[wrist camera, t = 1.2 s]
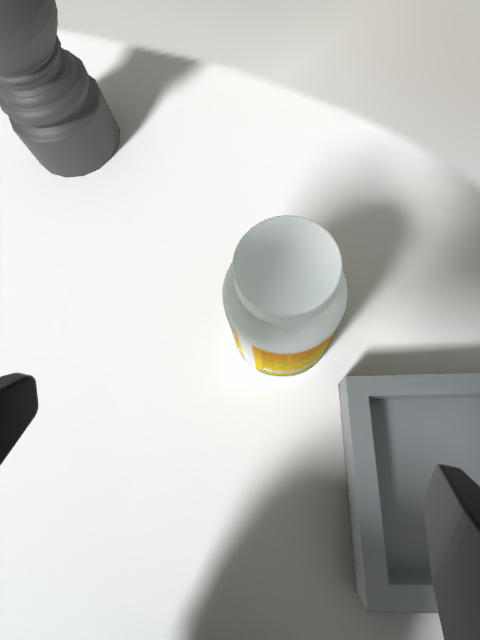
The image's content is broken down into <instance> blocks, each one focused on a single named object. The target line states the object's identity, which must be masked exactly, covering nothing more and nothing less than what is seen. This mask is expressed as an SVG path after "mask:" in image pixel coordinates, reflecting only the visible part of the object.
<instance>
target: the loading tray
mask: <svg viewBox="0 0 480 640" xmlns="http://www.w3.org/2000/svg"><path fill="white" fill-rule="evenodd" d="M338 385H339V396H340V408H341V419H342V430H343V442H344V453H345V465H346V476H347V488H348V499H349V511H350V522H351V534H352V545H353V557H354V568H355V580H356V591H357V594H358V596H359V597H360V599H361V601H362V603H363V604H364V606H365V608H366V610H367V611H368V612H406V613H439V612H438V607H437V603H436V598H435V594H434V588H433V583H432V577H431V569H430V560H429V550H428V541H427V532H426V522H425V513H424V495H425V492H426V489H427V486H428V484H429V481H430V478H431V476H432V473H433V471H434V468H435V467H436V466H437V465H438V464H445V465H450V466H455V467H458V468H460V469H462V470H463V471H464V472H465V473H466V474H467V475H468V476H469V477H470V478H471V479H472V480H473V481H475V482H476V483H477V484H478V485H479V486H480V373H446V374H409V375H371V376H346V377H345V378H344V379H343V380H342V381H341V382H340V383H339V384H338Z"/></svg>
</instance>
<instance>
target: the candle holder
mask: <svg viewBox="0 0 480 640" xmlns="http://www.w3.org/2000/svg"><path fill="white" fill-rule="evenodd" d="M57 21H58V20H57V8H56V3H55V0H0V106H1V109H2V110H3V112H4V113H6V114H7V115H8V116H9V119H10V122H11V125H12V128H13V130H14V132H15V133H16V134H17V135H18V136H19V138H20V139H21V140H22V141H23V143H24V144H25V145H26V146H27V147H28V149H29V150H30V151H31V152H32V154H33V155H34V156H35V157H36V158H37V160H38V161H39V162H40V163H41V165H43V166H44V167H45V168H46V169H47V170H48V171H50V172H51V173H53V174H56V175H60V176H64V177H75V176H84V175H86V174H88V173H90V172H93V171H95V170H97V169H99V168H100V167H102V166H103V165H104V164H105V163H106V162H107V161H108V160H109V159H110V158H112V156H113V154H114V152H115V150H116V148H117V146H118V144H119V131H120V130H119V128H118V126H117V124H116V122H115V120H114V117H113V115H112V113H111V111H110V109H109V107H108V105H107V103H106V101H105V99H104V97H103V95H102V93H101V91H100V89H99V87H98V84H97V82H96V80H95V79H93V78H92V77H91V76H89V75H88V73H87V71H86V69H85V67H84V65H83V62H82V61H81V60H80V59H79V58H77V57H76V56H75V55H73V54H72V53H70V52H69V51H67V50H64V49H63V48H61V43H60V41H59V39H58V36H57V26H58V22H57Z"/></svg>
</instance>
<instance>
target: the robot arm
mask: <svg viewBox="0 0 480 640" xmlns="http://www.w3.org/2000/svg"><path fill="white" fill-rule="evenodd" d="M37 410H38V397H37V387H36V380H35V378H34V377H33V376H31V375H26V374H22V373H12V374H9V375H5V376H1V377H0V465H1V464H2V462H3V461H4V459H5V458H6V457H7V455H8V454H9V452H10V451H11V450H12V448H13V447H14V445H15V444H16V442H17V441H18V440H19V438H20V437H21V435H22V434H23V433H24V431H25V430H26V428H27V427H28V425H29V424H30V423H31V421H32V420H33V418H34V417H35V415H36V413H37ZM424 513H425V522H426V532H427V541H428V550H429V560H430V569H431V577H432V583H433V588H434V594H435V598H436V603H437V607H438V612H439V617H440V621H441V626H442V630H443V635H444V640H480V486H479V485H478V484H477V483H476V482H475V481H473V480H472V479H471V478H470V477H469V476H468V475H467V474H466V473H465V472H464V471H463V470H462V469H460V468H458V467H455V466H450V465H445V464H438V465H437V466H436V467H435V468H434V471H433V473H432V476H431V478H430V481H429V484H428V486H427V489H426V492H425V495H424Z"/></svg>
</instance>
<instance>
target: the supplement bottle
mask: <svg viewBox="0 0 480 640" xmlns="http://www.w3.org/2000/svg"><path fill="white" fill-rule="evenodd" d="M347 300H348V288H347V282H346V278H345V275H344V272H343V270H342V256H341V252H340V249H339V247H338V245H337V243H336V241H335V240H334V238H333V237H332V235H331V234H330V233H329V232H328V231H327V230H326V229H325V228H323V227H322V226H321V225H319V224H317V223H316V222H314V221H312V220H309V219H307V218H303V217H298V216H277V217H273V218H269V219H266V220H264V221H262V222H260V223H258V224H257V225H255V226H254V227H252V228H251V229H250V230H249V231H248V232H247V233H246V234H245V235H244V236H243V237H242V239H241V240H240V242H239V243H238V245H237V248H236V250H235V253H234V257H233V262H232V263H231V265H230V267H229V269H228V271H227V273H226V276H225V279H224V284H223V305H224V309H225V313H226V316H227V319H228V322H229V325H230V328H231V330H232V333H233V336H234V339H235V342H236V345H237V348H238V350H239V352H240V354H241V355H242V357H243V358H244V360H245V361H246V362H247V363H248V364H249V365H250V366H251V367H253V368H254V369H255V370H257V371H259V372H261V373H263V374H266V375H268V376H274V377H291V376H295V375H299V374H301V373H304V372H306V371H307V370H309V369H310V368H312V367H313V366H314V365H315V364H316V363H317V362H318V361H319V360H320V358H321V357H322V355H323V354H324V352H325V350H326V349H327V347H328V345H329V343H330V341H331V339H332V337H333V335H334V333H335V331H336V330H337V328H338V326H339V324H340V322H341V320H342V318H343V316H344V313H345V310H346V306H347Z"/></svg>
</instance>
